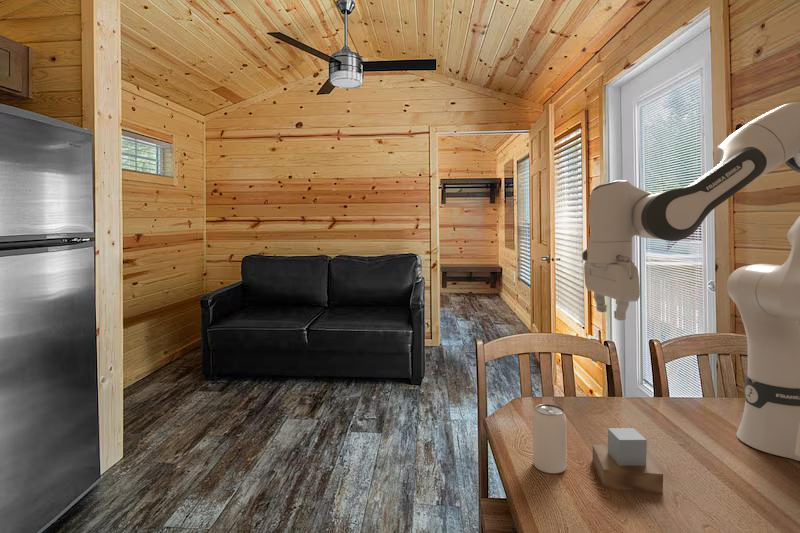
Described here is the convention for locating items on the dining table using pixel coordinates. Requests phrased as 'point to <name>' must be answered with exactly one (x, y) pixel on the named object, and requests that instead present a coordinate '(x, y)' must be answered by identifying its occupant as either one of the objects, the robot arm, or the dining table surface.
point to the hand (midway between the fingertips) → (610, 315)
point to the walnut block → (627, 473)
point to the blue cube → (627, 446)
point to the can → (549, 439)
